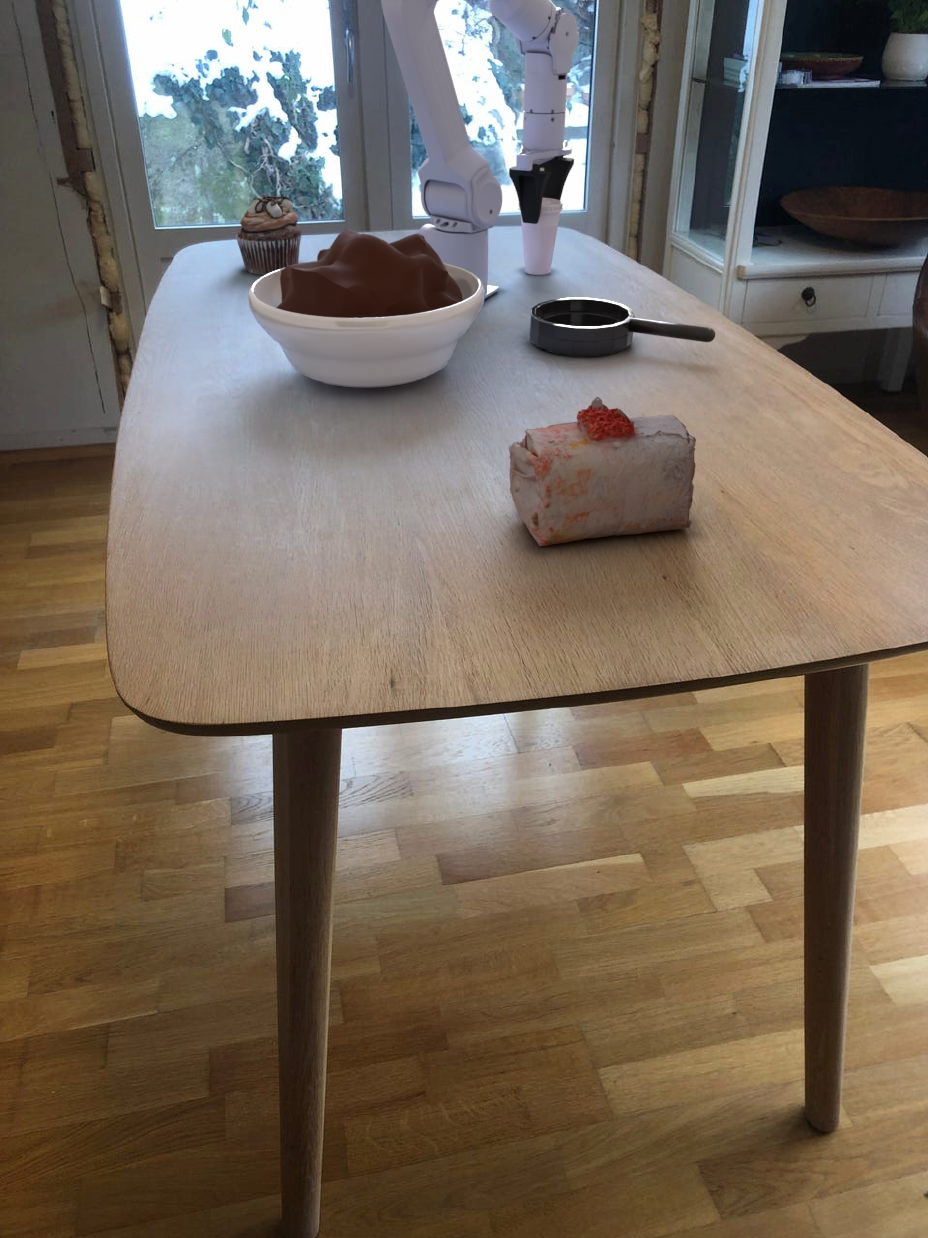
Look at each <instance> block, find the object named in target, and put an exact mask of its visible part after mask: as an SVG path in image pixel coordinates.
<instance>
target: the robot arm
mask: <svg viewBox="0 0 928 1238" xmlns="http://www.w3.org/2000/svg"><path fill="white" fill-rule="evenodd" d="M439 1H440V0H380V2H381V3H380V4H381V9H382V14H383V18H384V21H385V24H386V27H387V31H388V33H389V37H390V40H391V43H392V46H393V50H394V52H395V56H396V59H397V63H398V66H399V69H400V72H401V76H402V78H403V82H404V85H405V88H406V91H407V95H408V98H409V101H410V104H411V107H412V111H413V114H414V117H415V120H416V124H417V127H418V129H419V130H418V131H419V133H420V136H421V139H422V142H423V145H424V149H425V152H426V154H427V157H426V158H425V159H424V161H423V162H422V163H421V166H420V167H419V168H418V171H417V176H418V179H419V183H420V201H421V206H422V209H423V211H424V213H425V214H426V215H427V216H428V217H429V221H430V222H429V223H425V224H424V225H422V226H421V227H420V229H419V230H418V233H417V234H420V235H423V236H424V238H425V240H426V242H427V243H428V244H430V246H431V247H432V248H433V249H434V251H435V252H436V253H437V254H438V255H439V257H440V259H441V261H442V263H447V264H450V265H454V266H457V267H460V268H463V269H465V270H467V271H469V272H471V273H473V274H474V275H476V276H477V277H478V278H479V279H480V281H481V282H482V284H483V287H484V290H485V297H484V300H485V299H487V298H489V297H490V296H492V295H494V294H495V293H497V292H498V291H499V289H500V288H499V286H495V285H489V229H492V228H493V227H494V224H495V222H496V221H497V219H498V217H499V215H500V213H501V211H502V205H503V190H502V187H501V184H500V182H499V181H498V179H497V178H496V177H495V176H494V174H493V172H492V170H491V165H490V162H489V161H488V160H487V158H485V157H484V156H483V155H482V154H480V153H479V151H477V150H476V149H475V148H474V147H473V146H472V144H471V142H470V139H469V135H468V132H467V129H466V124H465V121H464V117H463V114H462V110H461V106H460V103H459V99H458V96H457V92H456V88H455V84H454V81H453V77H452V75H451V70H450V66H449V63H448V58H447V55H446V52H445V48H444V45H443V41H442V37H441V33H440V30H439V29H440V28H439V26H438V23H437V19H436V15H435V9H436V7H437V3H438V2H439ZM488 1H489V2H488V3H489V4H488V5H489V10H490V12H491V14H492V15H493V16H494V17H495V18H496V19H497V20H498V21H499V22H500V23H501V24H502V25H503V26H504V27H505V28H506V29H508V31H509V32H511V34H512V35H513V37H514V38H515V43H516V48H517V50H518V53H519V54H520V55H523V56H524V84H523V85H524V87H523V89H524V91H523V119H522V121H523V122H522V146H521V147H520V150H519V153H517V154H516V165H515V166H514V165H513V166H512V167H510V168H508V176H509V178H510V180H511V182H512V184H513V186H514V189H515V192H516V195H517V199H518V206H519V205H520V210H521V211H520V210H519V211H520V217H521V216H522V220H523V223H531V224H537V223H538V221H539V217H540V212H541V205H542V198H552V199H557V200H560V201H561V199H562V194H563V191H564V187H565V184H566V181H567V179H568V176H569V174H570V172H571V171H572V168H573V167H574V164H575V159H574V158H572V157H566V156H569V155H571V154H572V151H573V148H572V147H568V141H569V140H565V129H566V111H567V108H566V107H567V92H568V91H567V90H568V74H570V73H571V69H572V68H573V58H574V54H575V52H576V50H577V47H578V44H579V39H580V32H579V30H578V29H579V28H578V23H577V19H576V17H575V16H574V14H572V13H571V11H570V10H569V9H568V8H566V7H557V6H556V5H555V4H554V3H553V2H552V0H488ZM540 168H544V171H540Z"/></svg>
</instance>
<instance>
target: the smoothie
mask: <svg viewBox="0 0 928 1238" xmlns="http://www.w3.org/2000/svg"><path fill="white" fill-rule="evenodd" d="M540 171H544V168H540ZM517 208H518V211H520V212H521V210H520V205H519V204H518V207H517ZM563 210H564V209H563V201H562V200H561V199H560V200H557V199H552V198H542V205H541V212H540V217H539V221H538V223H537V224H531V223H523V220H522V216H521V215H520V222H521V235H522V247H523V248H522V249H523V259H524V271H525V273H526V274H529V275H534V276H535V275H536V276H544V275H548V274H550V273H551V269H552V264H553V263H552V262H553V258H554V251H555V245H556V239H557V234H558V227H559V223H560V214H561V212H562V211H563Z"/></svg>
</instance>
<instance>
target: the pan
mask: <svg viewBox="0 0 928 1238" xmlns="http://www.w3.org/2000/svg"><path fill="white" fill-rule="evenodd" d="M629 318H636V315H635V312H634V310H633V309H632V308H630V307H628V306H627V305H625V304H623V303H618V302H615V301H611V300H608V299H603V298H602V299H600V298H593V297H564V298H563V297H562V298H553V299H549V300H546V301H545V300H544V301H542V302H539V303H537V304H535V305H534V306H533V307H531V308H530V317H529V341H530V342H532V343H533V344H534V345H535V346H536V347H538V348H540V349H541V350H544V351H546V352H549V353H552V354H557V355H562V356H568V357H580V358H581V357H582V358H587V357H588V358H590V357H603V356H608V355H612V354H616V353H618V352H620V351H622V350H624V349H627V348H628V347H629V346H630V345H631V344H632V343H633V340H634V332H630V331H629V326H630V321H631V320H630V319H629Z"/></svg>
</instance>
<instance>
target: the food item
mask: <svg viewBox="0 0 928 1238" xmlns="http://www.w3.org/2000/svg"><path fill="white" fill-rule="evenodd" d="M524 434H525V435H524V437H523V438H522V440H521V441H520V442H519V441H517V442H516V441H514V442H513V443H512V444H511V445H509V446H508V450H509V459H510V461H509V484H510V485H509V486H510V487H509V492H510V494H511V497H512V501H513V504H514V507H515V509H516V513H517V515H518V517H519V519H520V520H521V521H522V522H523V523H524V525H525V527H526V528H527V530H528V532H529V533H530V535H531V536H532V537H533V539H534V540H535V541H536V543H537V544H538V546H539V547H545V546H550V545H557V544H565V543H569V542H576V541H580V540H581V541H582V540H585V539H598V538H607V537H608V538H609V537H611V536H617V537H618V536H624V535H626V536H627V535H640V534H647V533H656V532H663V531H664V532H665V531H674V530H684V529H690V527H691V524H692V520H690V510H691V508H692V506H693V496H694V489H695V485H694V483H693V482H694V478H695V473H696V462H695V451H696V448H695V446H696V443H697V439H696V437H695V436H693V435H691V434H690V432H689V431H688V429H687V427H686V425H685V424H684V423H683V422H682V421H680V419H679V418H678V417H677V416H675V415H674V414H663V415H652V416H639V417H638V416H637V417H629V416H628V415H627V414H626V413H625V412H624V411H623V410H622V409H621V408H618V407H616V408H609V407H608V406H607V405H606V404H605V403H604V404H603V400H602V399H601V398H600V397H599V396H596V397H595V398H594V399H593V400H592V401H591V403H590V405H588V406H587V408H585V409H581V410H578V412H577V414H576V421H574V422H573V421H572V422H562V423H556V424H551V425H549V426H546V427H537V428H527V429H525V430H524Z"/></svg>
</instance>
